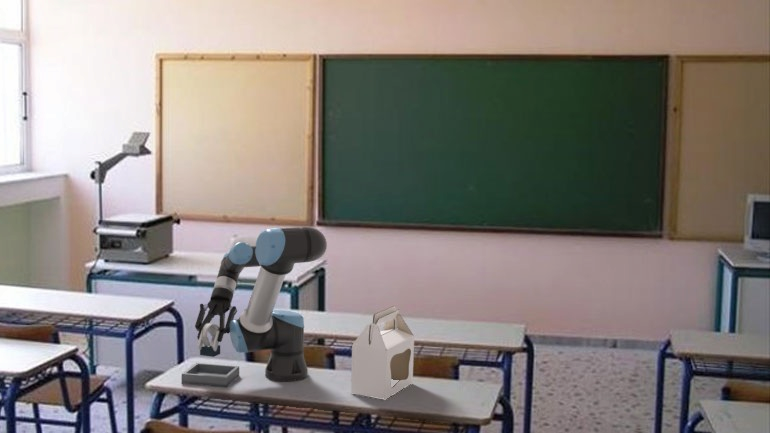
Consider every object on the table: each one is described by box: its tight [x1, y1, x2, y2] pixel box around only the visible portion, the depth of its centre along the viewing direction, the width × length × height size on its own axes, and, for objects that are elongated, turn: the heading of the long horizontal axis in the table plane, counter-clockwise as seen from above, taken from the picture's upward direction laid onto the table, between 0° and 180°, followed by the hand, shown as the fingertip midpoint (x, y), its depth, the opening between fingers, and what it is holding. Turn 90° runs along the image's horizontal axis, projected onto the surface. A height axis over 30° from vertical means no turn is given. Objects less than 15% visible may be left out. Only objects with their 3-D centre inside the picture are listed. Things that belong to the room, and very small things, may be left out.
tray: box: [181, 362, 240, 388], centre depth 329 cm, size 16×14×4 cm
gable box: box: [350, 305, 415, 399], centre depth 323 cm, size 22×13×28 cm, turn 154°
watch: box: [199, 322, 221, 358], centre depth 328 cm, size 6×8×11 cm
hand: (206, 348), depth 325 cm, fingers closed on watch, 5 cm apart
